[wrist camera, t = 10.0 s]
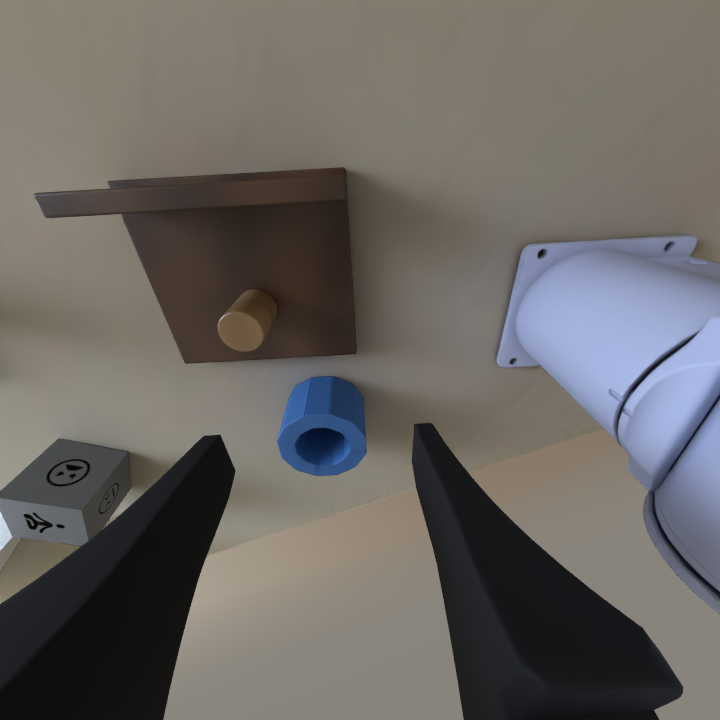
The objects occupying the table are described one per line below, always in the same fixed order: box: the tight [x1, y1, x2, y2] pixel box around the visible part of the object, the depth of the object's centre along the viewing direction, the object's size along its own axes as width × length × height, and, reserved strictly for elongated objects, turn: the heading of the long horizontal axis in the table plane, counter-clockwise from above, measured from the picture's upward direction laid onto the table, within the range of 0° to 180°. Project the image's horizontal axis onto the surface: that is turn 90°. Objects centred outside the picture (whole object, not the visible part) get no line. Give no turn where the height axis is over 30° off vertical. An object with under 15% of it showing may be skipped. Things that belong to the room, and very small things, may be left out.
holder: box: [33, 168, 357, 364], centre depth 15 cm, size 11×10×5 cm
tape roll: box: [277, 376, 367, 476], centre depth 21 cm, size 6×6×4 cm
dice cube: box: [0, 439, 131, 546], centre depth 23 cm, size 5×5×5 cm
